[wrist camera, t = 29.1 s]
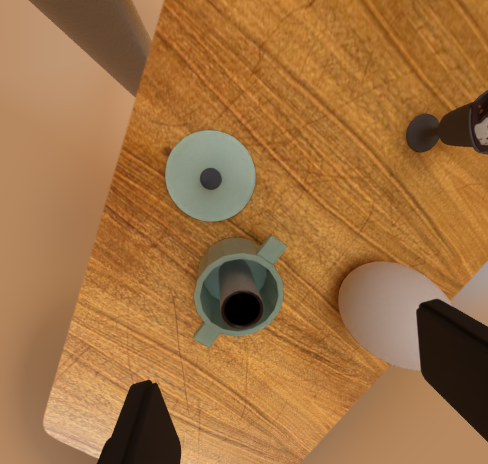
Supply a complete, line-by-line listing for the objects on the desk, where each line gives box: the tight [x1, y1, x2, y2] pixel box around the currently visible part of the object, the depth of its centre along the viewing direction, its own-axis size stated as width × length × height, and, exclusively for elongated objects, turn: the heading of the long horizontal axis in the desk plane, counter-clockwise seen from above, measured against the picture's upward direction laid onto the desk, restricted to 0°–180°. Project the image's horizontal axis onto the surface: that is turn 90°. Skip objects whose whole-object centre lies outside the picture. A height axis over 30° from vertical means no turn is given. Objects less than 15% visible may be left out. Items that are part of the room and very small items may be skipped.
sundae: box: [407, 90, 488, 154], centre depth 29 cm, size 7×7×15 cm
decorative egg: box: [338, 261, 453, 371], centre depth 34 cm, size 12×12×15 cm
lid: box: [165, 130, 256, 222], centre depth 32 cm, size 11×11×6 cm
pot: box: [193, 234, 287, 347], centre depth 35 cm, size 10×16×8 cm, turn 143°
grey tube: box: [219, 259, 264, 329], centre depth 33 cm, size 4×4×10 cm
